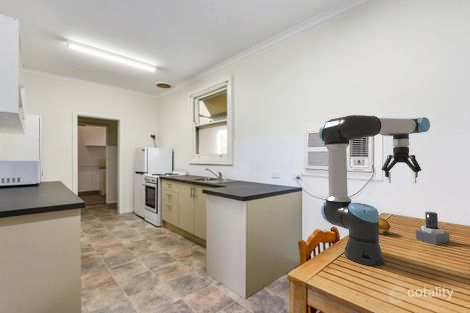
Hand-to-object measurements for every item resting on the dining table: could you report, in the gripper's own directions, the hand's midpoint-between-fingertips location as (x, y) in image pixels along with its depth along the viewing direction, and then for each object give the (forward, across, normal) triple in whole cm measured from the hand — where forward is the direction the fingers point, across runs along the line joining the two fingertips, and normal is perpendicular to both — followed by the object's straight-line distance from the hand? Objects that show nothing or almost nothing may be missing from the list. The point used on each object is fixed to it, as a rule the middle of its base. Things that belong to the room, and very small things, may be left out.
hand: (401, 183), depth 128 cm
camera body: (+31, -12, +6) cm, 34 cm away
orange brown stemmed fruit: (+31, +9, -5) cm, 33 cm away
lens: (+26, -12, +6) cm, 29 cm away
